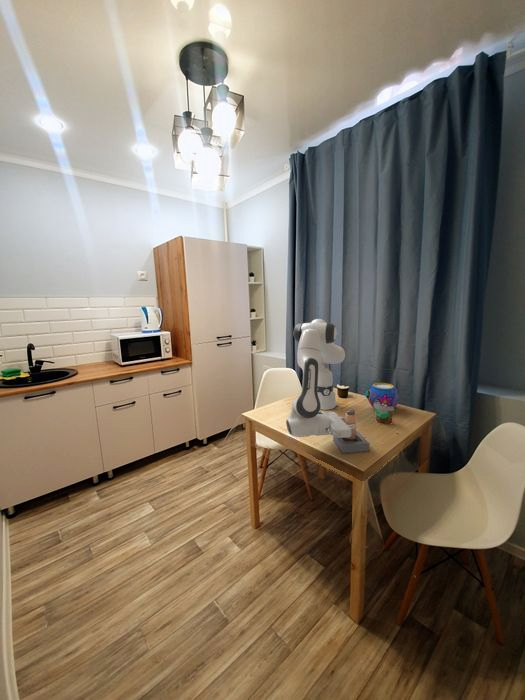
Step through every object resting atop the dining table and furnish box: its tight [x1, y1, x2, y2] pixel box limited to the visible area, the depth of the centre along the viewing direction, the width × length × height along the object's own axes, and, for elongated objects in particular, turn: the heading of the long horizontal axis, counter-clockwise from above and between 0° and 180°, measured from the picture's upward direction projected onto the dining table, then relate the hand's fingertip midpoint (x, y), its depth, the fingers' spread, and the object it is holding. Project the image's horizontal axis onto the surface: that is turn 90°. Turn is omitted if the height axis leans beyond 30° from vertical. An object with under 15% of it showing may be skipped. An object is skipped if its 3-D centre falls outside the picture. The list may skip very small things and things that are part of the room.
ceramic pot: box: [365, 382, 400, 409], centre depth 166 cm, size 18×18×15 cm
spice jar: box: [344, 409, 358, 439], centre depth 124 cm, size 5×5×12 cm
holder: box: [332, 430, 370, 455], centre depth 126 cm, size 12×12×4 cm
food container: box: [373, 400, 395, 425], centre depth 149 cm, size 12×6×10 cm, turn 19°
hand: (352, 422), depth 124 cm, fingers closed on spice jar, 5 cm apart
